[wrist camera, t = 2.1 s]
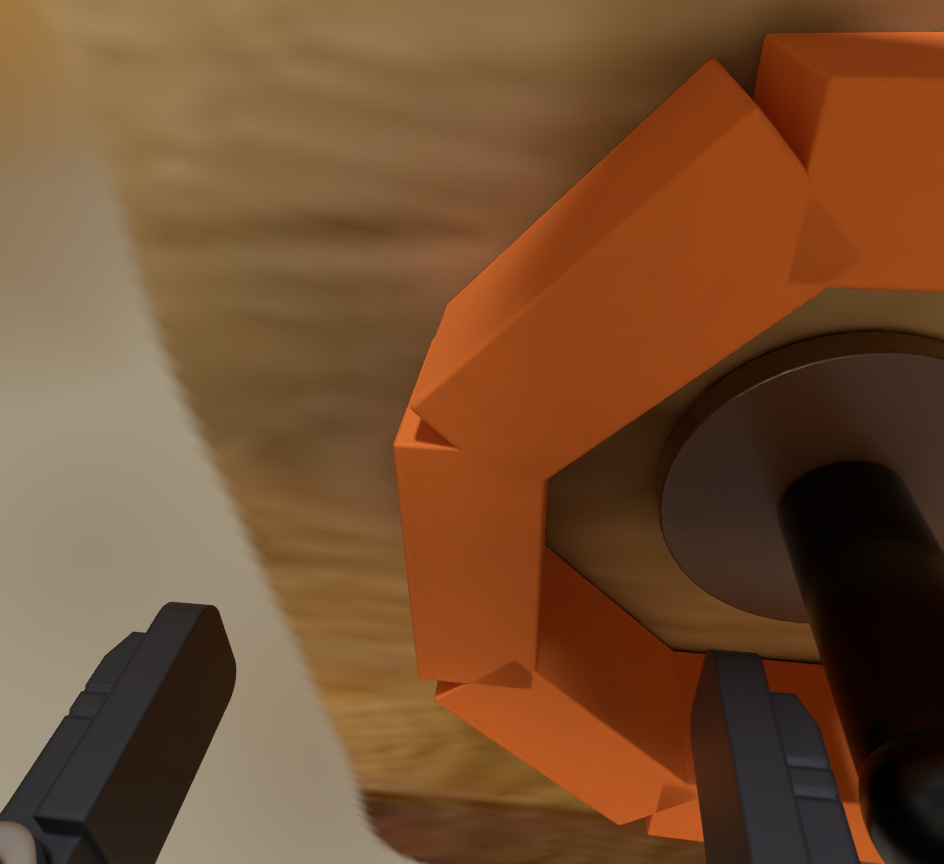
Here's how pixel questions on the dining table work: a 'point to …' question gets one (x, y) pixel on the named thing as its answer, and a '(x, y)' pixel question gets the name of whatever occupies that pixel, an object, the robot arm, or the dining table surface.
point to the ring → (648, 391)
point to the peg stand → (835, 544)
